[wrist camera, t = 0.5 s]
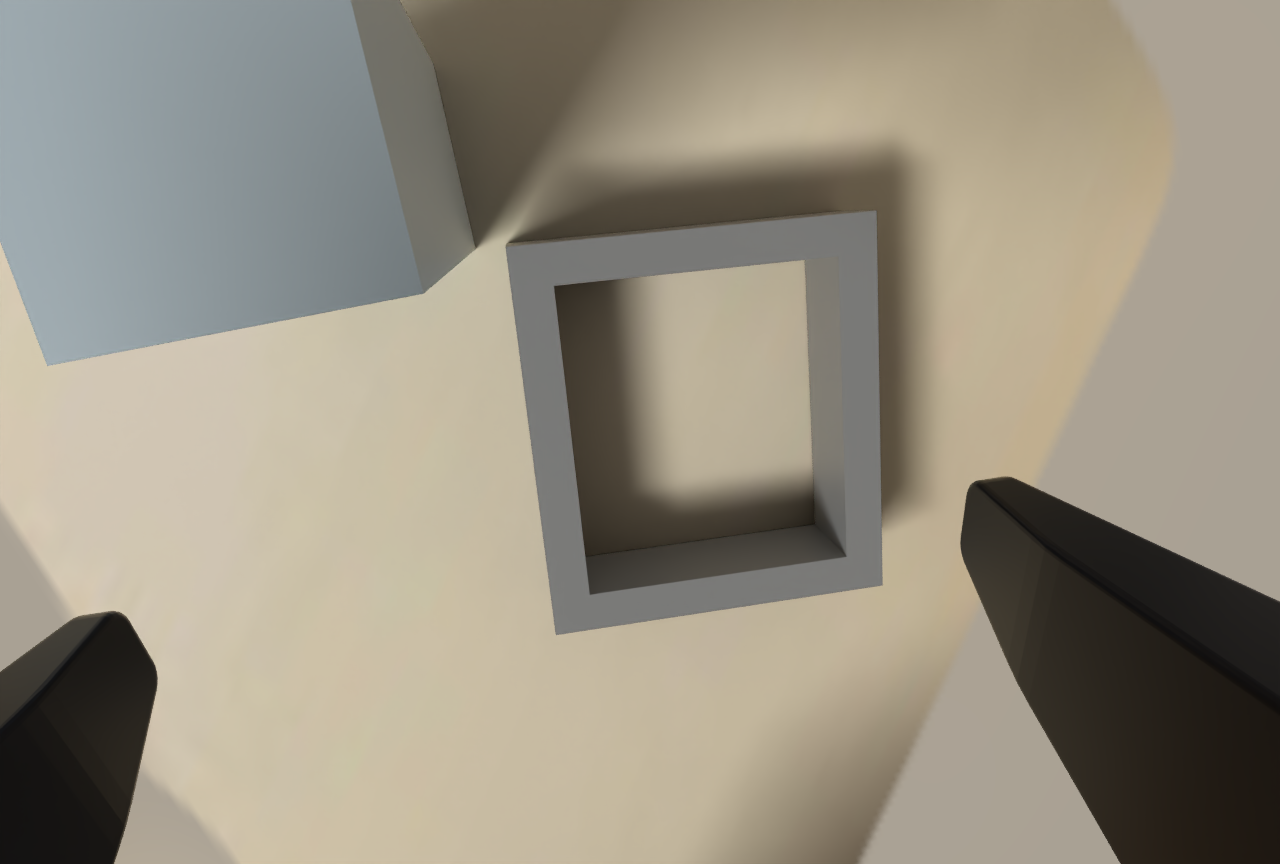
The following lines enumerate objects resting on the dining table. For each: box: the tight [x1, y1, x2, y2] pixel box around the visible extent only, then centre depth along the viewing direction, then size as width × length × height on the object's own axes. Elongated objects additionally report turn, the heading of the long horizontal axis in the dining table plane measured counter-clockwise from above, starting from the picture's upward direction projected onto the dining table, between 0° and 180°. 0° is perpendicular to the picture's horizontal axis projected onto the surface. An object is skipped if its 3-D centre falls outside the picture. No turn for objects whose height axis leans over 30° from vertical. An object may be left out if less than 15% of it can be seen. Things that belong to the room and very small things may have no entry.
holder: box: [506, 211, 882, 635], centre depth 22 cm, size 10×9×2 cm
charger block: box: [0, 0, 475, 366], centre depth 15 cm, size 4×4×13 cm
